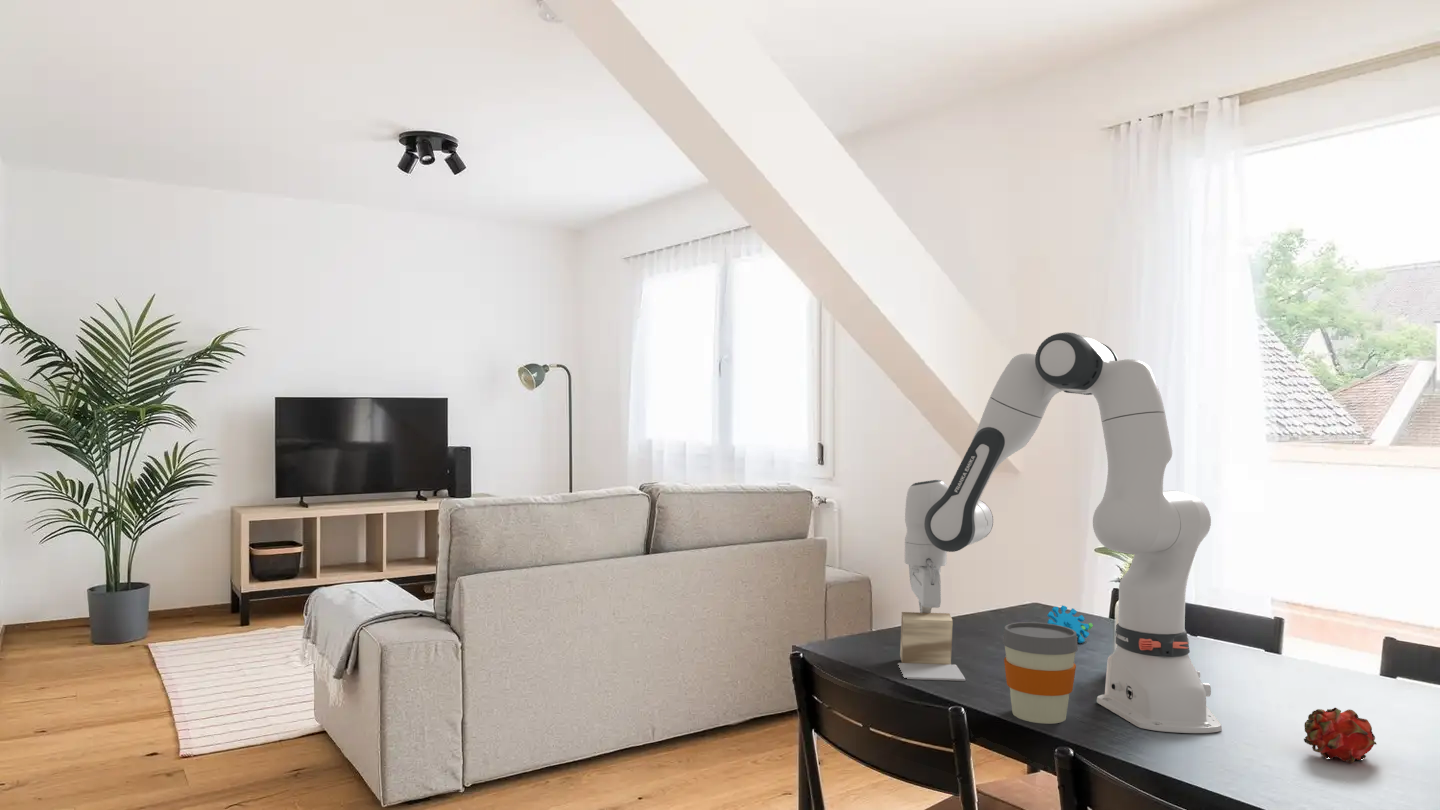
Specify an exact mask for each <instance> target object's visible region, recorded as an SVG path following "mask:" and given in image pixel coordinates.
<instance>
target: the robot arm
mask: <svg viewBox="0 0 1440 810" xmlns="http://www.w3.org/2000/svg"><path fill="white" fill-rule="evenodd" d="M1062 392H1064V393H1067V394H1075V395H1076V394H1077V395H1086V396H1089V395H1090V396H1094V398H1095V399H1096V402H1097V405H1098V408H1099V414H1100V419H1101V426H1102V432H1103V437H1104V444H1105V450H1106V456H1107V459H1106V460H1107V478H1106V484H1105V490H1104V494H1103V497H1102V499H1101V501H1100V502H1099V504H1098V505H1097V507H1096V509H1095V510H1094V512H1093V516H1092V528H1093V529H1092V530H1093V532H1094V535H1095V536H1096V538H1097V540H1098V541H1099V543H1100V544H1101V545H1102V546H1103V547H1104V548H1106V549H1108V550H1110V551H1114V552H1119V553H1124V554H1128V555H1133V558H1132V561H1131V564H1130V566H1129V568H1128V570H1127V571H1126V573H1125V574H1124V575H1123V576H1122V577H1121V579H1120V581H1119V584H1118V622H1117V623H1116V626H1115V631H1114V636H1115V644H1116V647H1115V650H1114V651H1113V652H1112V653H1110V655H1109V656H1108V657H1107V662H1106V674H1105V685H1104V686H1105V687H1104V694H1100V695H1098V696H1097V697H1096V703H1097V704H1099V705H1101V706H1102V707H1103V708H1105V709H1107V710H1109V711H1110V712H1112V713H1114V714H1116V715H1117V716H1118V717H1121V718H1122V719H1124V720H1126V721H1127V722H1130V724H1132V725H1134V726H1136V727H1138V728H1140V729H1145V730H1151V731H1156V732H1164V733H1165V732H1166V733H1178V734H1179V733H1182V734H1211V733H1218V732H1222V731H1223V727H1222V724H1221V723H1220V720H1218V718H1217V717H1216V716H1215V714H1213V712H1212V711H1211V710H1210V708H1209V707H1208V705H1207V698H1208V697H1211V694H1212V689H1211V685H1210V683H1208V682H1202V680H1201V672H1200V671H1199V670H1196V668H1195V666H1194V664H1193V663H1192V660H1191V657H1190V655H1189V653H1190V652H1191V651H1190V645H1189V644H1190V641H1189V637H1188V632H1187V630H1186V629H1185V627H1186V626H1185V622H1186V621H1185V620H1186V618H1185V617H1186V593H1187V586H1188V582H1189V581H1188V580H1189V576H1190V573H1191V570H1192V566H1193V563H1194V560H1195V559H1194V558H1195V556H1196V554H1197V551H1198V548H1199V547H1200V544H1201V543H1202V541H1203V540H1204V539H1205V538H1206V537H1207V536H1208V533H1209V531H1210V529H1211V525H1212V524H1211V523H1212V519H1211V518H1212V517H1211V513H1210V511H1209V508H1208V507H1207V505H1206V503H1204V502H1203V501H1202V499H1201V498H1199V497H1197V496H1194V495H1192V494H1190V493H1189V494H1188V493H1186V492H1181V491H1178V490H1164V476H1165V471H1166V467H1167V465H1168V463H1169V462H1170V461H1171V459H1172V456H1173V448H1172V441H1171V437H1170V432H1169V427H1168V422H1167V421H1168V420H1167V416H1166V412H1165V407H1164V403H1163V399H1162V396H1161V392H1160V389H1159V386H1158V383H1157V381H1156V377H1155V375H1154V373H1153V371H1152V369H1151V367H1150V366H1149V365H1148V364H1147V363H1145V362H1144V361H1141V360H1138V359H1130V358H1129V359H1119V358H1118V356H1117V355H1116V353H1115V352H1114V350H1112V349H1111V347H1109V345H1107V344H1104V343H1102V342H1099V341H1097V340H1096V339H1094V338H1092V337H1090V336H1086V335H1081V334H1077V333H1074V332H1058V333H1055V334H1052V335H1050V336H1048V337H1047V338H1046V339H1044V340H1043V341H1042V342H1041V344H1040V345H1038V348H1037V350H1036V352H1035V354H1034V353H1019V354H1017V355H1015V356H1013V358H1012V359H1011V360H1010V361H1009V362H1008V364H1007V365H1006V367H1005V368H1004V370H1003V371H1002V373H1001V374H1000V376H999V378H998V380H997V381H996V384H995V386H994V388H993V389H992V391H991V394H990V396H989V399H988V401H987V402H986V405H985V408H984V409H983V412H982V416H981V417H980V421H979V423H978V426H977V428H976V431H975V433H974V435H973V438H972V440H971V443H970V444H969V447H968V448H967V450H966V452H965V454H964V456H963V458H962V460H961V463H960V464H959V466H958V468H957V469H956V472H955V474H954V476H953V478H952V479H951V482H950V484H949V485H948V484H947V483H946V482H945V481H944V480H942V479H941V480H940V479H933V480H926V481H918V482H913V483H912V484H911V485H910V486H909V487H908V489H907V493H906V499H905V508H904V509H905V510H904V511H905V512H904V523H905V526H906V534H905V537H904V563H905V564H906V565H908V572H909V581H910V588H911V591H912V592H913V594H914V595H915V597H916V598H917V599H918V606H919V607H918V608H919V613H932V609H934V608H935V609H939V608H940V607H941V604H942V587H941V586H942V585H941V570H942V569H941V568H942V567H944V566H947V563H948V562H947V561H948V553H955V552H958V551H961V550H963V549H964V548H966V547H967V546H970V545H972V544H975V543H978V542H980V541H982V540H983V539H985V538H987V537H988V535H989V534H990V533H991V531H992V529H993V525H994V516H993V512H992V511H991V509H990V507H989V506H988V505H987V504H986V502H984V501H982V500H981V497H982V496H983V493H984V492H985V489H986V487H987V485H988V483H989V482H990V479H991V478H992V475H993V474H994V473H995V471H996V469H997V468H999V466H1000V464H1002V463H1003V462H1004V461H1005V460H1006V459H1008V458H1009V457H1010V456H1012V455H1013V454H1016V452H1019V451H1020V450H1022V449H1023V448H1025V447H1026V446H1027V445H1028V443H1029V442H1030V440H1031V439H1032V437H1033V436H1034V434H1035V433H1036V432H1037V430H1038V428H1039V426H1040V424H1041V422H1042V419H1043V417H1044V415H1045V413H1046V411H1047V407H1048V406H1049V404H1050V402H1051V400H1052V399H1053V397H1054V396H1055V395H1057V394H1059V393H1062Z"/></svg>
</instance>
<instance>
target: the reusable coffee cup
mask: <svg viewBox="0 0 1440 810" xmlns="http://www.w3.org/2000/svg"><path fill="white" fill-rule="evenodd" d="M1003 628H1004V629H1003V636H1002V637H1003V638H1002V644H1003V646H1004V650H1005V657H1004V658H1003V662H1004V670H1005V671H1004V672H1005V680H1006V685H1007V686H1008V688H1009V695H1010V703H1011V711H1012V712H1011V713H1012V714H1013V716H1014V717H1016V718H1018V719H1019V720H1023V721H1025V722H1030V723H1036V724H1047V725H1049V724H1058V723H1059V724H1060V723H1063V722H1065V721H1066V719H1067V715H1068V714H1067V712H1068V707H1069V701H1070V699H1069V698H1070V694H1071V693H1072V692H1073V688H1074V683H1075V682H1074V681H1075V675H1076V670H1077V669H1076V668H1077V664H1076V663H1075V658H1076V652H1078V650H1079V648H1078V647H1079V646H1078V637H1077V635H1076V632H1075V631H1074V630H1072V629H1070V628H1067V627H1063V626H1059V625H1054V624H1047V623H1045V622H1032V621H1030V622H1029V621H1028V622H1026V621H1025V622H1024V621H1023V622H1013V623H1009V624H1006V625H1005V626H1004V627H1003Z"/></svg>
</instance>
